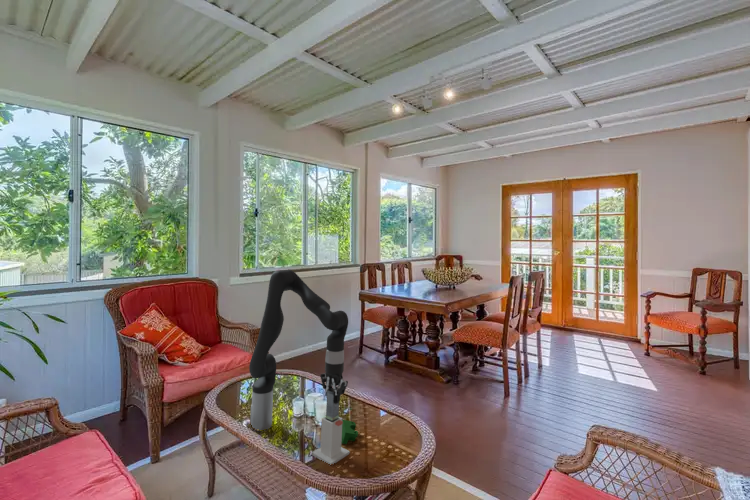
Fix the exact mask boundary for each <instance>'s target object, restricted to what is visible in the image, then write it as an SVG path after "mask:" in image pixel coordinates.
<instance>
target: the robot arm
mask: <svg viewBox="0 0 750 500" xmlns="http://www.w3.org/2000/svg"><path fill="white" fill-rule="evenodd" d="M285 291H292V292H293V293H295V294H297V295H298V296H299V297H300V299H301V301H302V304H303V305H304V307H305V308H306V309H307V310H309V311H310V312H311V313H312V314H313V315H315V316H316V317H317V318H318V320H319V321H320V322H321V324H322V326H324V328H326V329H328V330H329V331H331V333H330V334H329V335H328V336H327V338H326V351H325V362H324V363H325V367H324V370H325V372H324V373H321V374H320V380H321V384H322V389H323V390H325V392H327V390H328V389H331V388H333V389H334V391H335V397H334V403H335V404H337V403H339V404H340V402H341V400H340V399H341V395H343V394H344V393H345V392H346V389H347V386H348V383H349V381H348V380H345V379H344V377H343V373H344V366H345V364H344V363H345V337H346V335H347V330H348V325H349V317H348V314H347V312H345V311H343V310H337V311H334V312H333V311H331V310H330V309H331V305H330V304H329V303H328V302H327V301H326V300H325V299H324V298H322V297H321V296H319V295H318V294H317V293H316V292H315V291H314V290H312V289H311V288H310V287H309V286H308V285H307V284H306V283H305V281H303V279H302V278H301V277H300V276H299V275H298V274H297V273H296V272H295V271H293V270H291V269H283V270H279V269H278V270H275V271H274V272H273V273H272V274H271V275H270V278H269V282H268V290H267V297H266V302H265V303H266V304H265V307H264V308H265V309H264V311H263V312H264V313H263V316H262V320H261V324H260V329H259V332H258V337H257V341H256V344H255V348H254V350H253V353H252V355H251V358H250V362H249V367H248V368H249V369H248V370H249V374H250V376H251V377H252V378H254V379H257V380H255V382H253V384H252V386H251V387H252V388H251V389H252V390H251V391H252V393H251V405H250V417H249V418H250V421H249V423H250V422H251V425H252V427H253V428H255V429H259V430H264V429H267V430H269V429H270V427H271V428H272V426H273V425H272V424H273V407H274V406H273V404H274V403H273V402H274V400H273V399H274V398H273V397H274V387H275V383H276V375H277V361H276V357H275V356H274V355H273V354H271V353H269V351H270V350H271V348H272V346H273V345H274V344H275V342H276V341H277V340H278V338H279V336H280V335H281V332H282V330H283V325H284V321H285V317H284V313H283V309H282V306H281V304H282V303H281V302H282V298H283V293H284V292H285ZM337 389H338V391H337ZM325 395H326V399H327V394H325ZM251 425H250V426H251ZM271 425H272V426H271ZM268 428H269V429H268ZM264 431H265V430H264Z"/></svg>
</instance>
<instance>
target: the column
mask: <svg viewBox="0 0 750 500" xmlns="http://www.w3.org/2000/svg"><path fill="white" fill-rule="evenodd" d="M337 391H338V389H337ZM326 395H327V398H326V404H325V405H326V409H325V412H326V413H325V417H326V420H328V421H330V422H334V421H336V420H338V417H340V415H339V414H340V413H339V409H340V402H339V403H337V404H335V403H334V397H335V391H334V389H333V387H332V388H331V389H328V390H327V391H326Z"/></svg>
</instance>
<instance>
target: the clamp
mask: <svg viewBox="0 0 750 500" xmlns="http://www.w3.org/2000/svg"><path fill="white" fill-rule="evenodd" d="M342 421H343V424H342V442H341V445H348V442H356V439H357V438H358V437H359V431H358V430H356V427H357V425H356V423H355V422H354V421H352V420H348V419H347V420H345V419H342Z"/></svg>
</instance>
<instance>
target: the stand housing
mask: <svg viewBox="0 0 750 500" xmlns="http://www.w3.org/2000/svg"><path fill="white" fill-rule="evenodd" d="M342 420H344V418H343V417H340V416H339V417H338V420H336V421H334V422H330V421H328V420H326V416H324V417H322V418H321V426H320V427H321V428H320V447H318V448H317V449H315V450H313V451H311V456H313V457H315V458H316V459H319V460H320V461H321V460H322V461H321V462H323V461H324V462H323V463H325V462H326V463H328V464H330V465H331V464H333V465H334V463H335V464H336V463H338V462H339V461H341V460H342V459H344V458H345V457H347V456H348V455H350V453H351V451H349V450H348V449H346V448H344V447H342V443H341V442H342V424H343V421H342ZM326 463H325V464H326ZM328 464H327V465H328ZM330 465H329V466H330Z"/></svg>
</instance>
